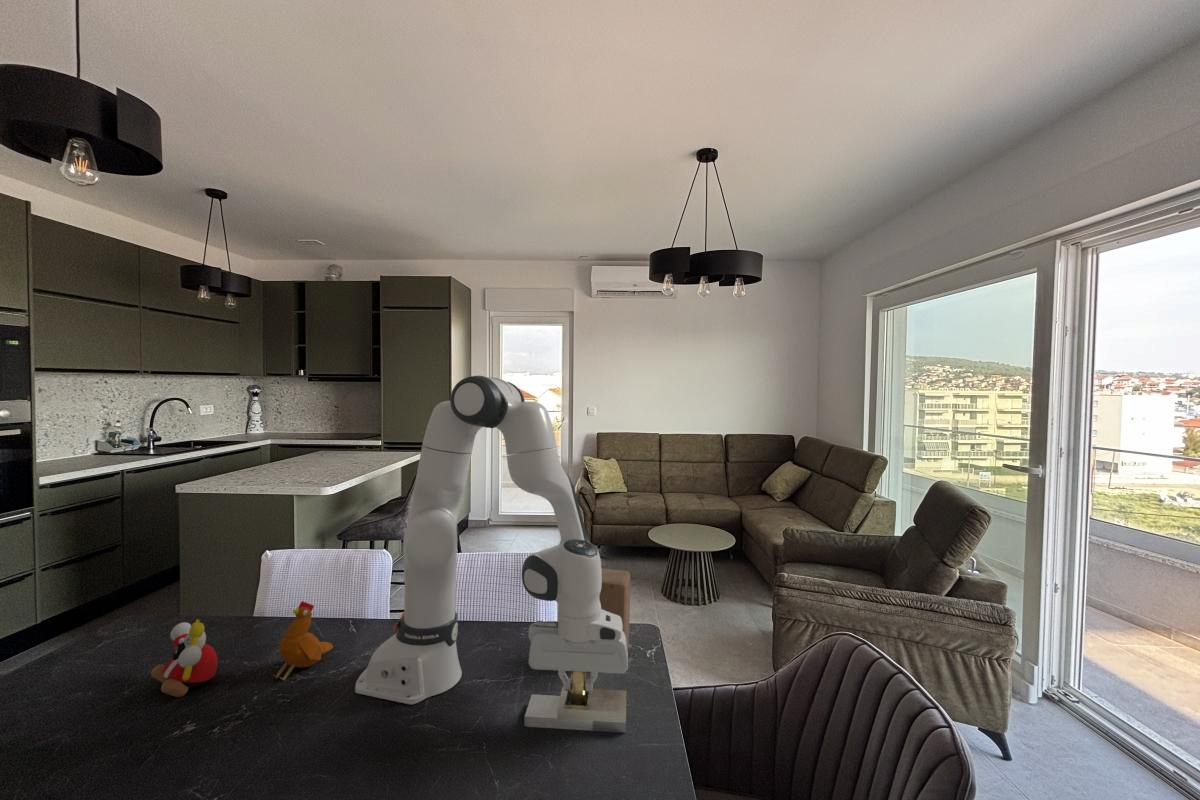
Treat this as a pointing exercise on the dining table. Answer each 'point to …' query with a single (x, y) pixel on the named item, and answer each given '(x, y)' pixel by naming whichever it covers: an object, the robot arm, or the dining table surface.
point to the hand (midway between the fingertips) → (578, 689)
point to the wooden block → (616, 596)
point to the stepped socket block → (579, 711)
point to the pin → (578, 688)
